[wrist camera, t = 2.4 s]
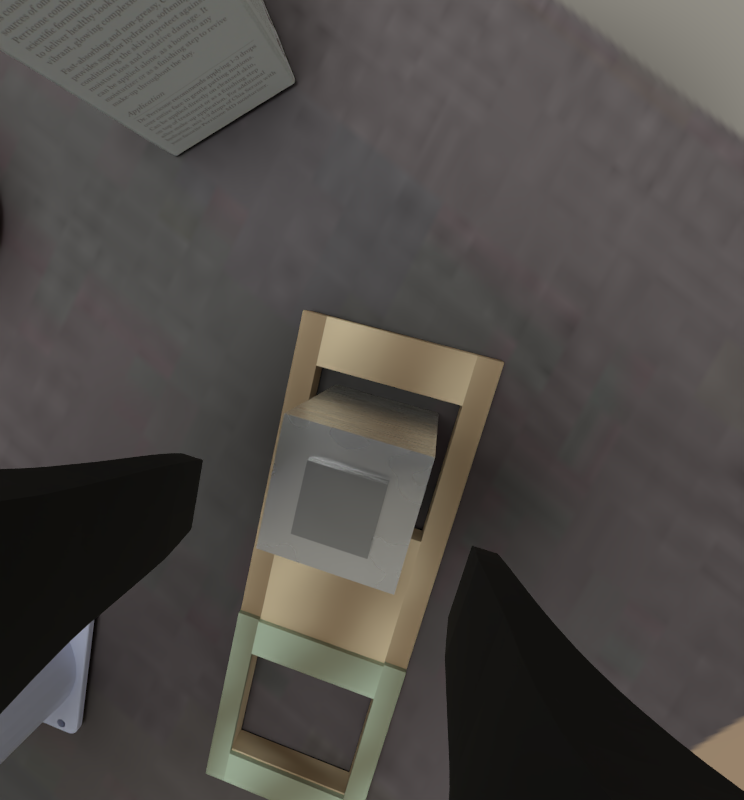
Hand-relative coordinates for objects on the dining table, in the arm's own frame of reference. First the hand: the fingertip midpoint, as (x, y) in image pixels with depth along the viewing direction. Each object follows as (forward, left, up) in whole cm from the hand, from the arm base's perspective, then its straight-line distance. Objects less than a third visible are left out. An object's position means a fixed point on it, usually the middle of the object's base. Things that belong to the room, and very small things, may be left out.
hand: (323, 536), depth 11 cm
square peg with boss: (0, 0, -8) cm, 8 cm away
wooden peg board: (0, -7, -8) cm, 11 cm away
